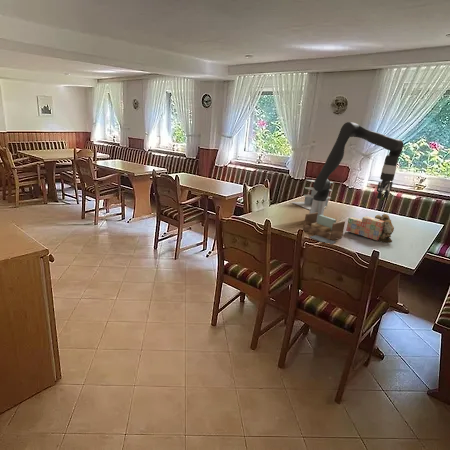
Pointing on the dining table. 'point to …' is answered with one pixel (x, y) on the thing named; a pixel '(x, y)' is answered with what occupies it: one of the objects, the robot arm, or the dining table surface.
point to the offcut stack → (321, 227)
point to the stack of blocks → (366, 227)
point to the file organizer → (310, 198)
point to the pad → (322, 239)
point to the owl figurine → (385, 228)
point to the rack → (335, 233)
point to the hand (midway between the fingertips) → (382, 198)
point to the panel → (326, 221)
